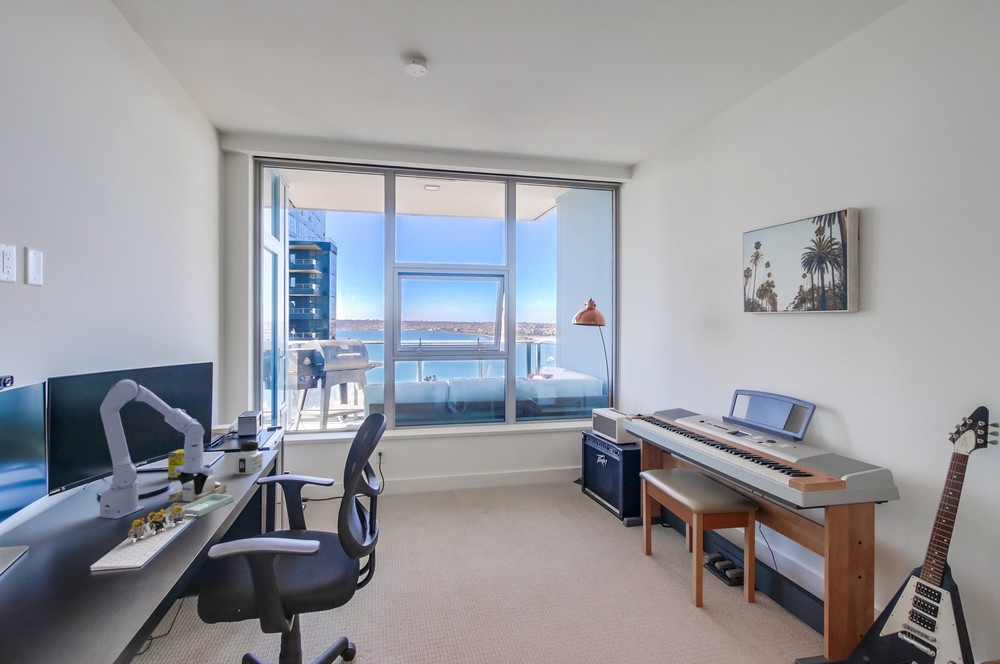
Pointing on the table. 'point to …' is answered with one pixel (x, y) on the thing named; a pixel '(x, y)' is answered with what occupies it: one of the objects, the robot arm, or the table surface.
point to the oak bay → (218, 490)
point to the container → (249, 458)
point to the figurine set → (156, 521)
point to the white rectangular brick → (190, 488)
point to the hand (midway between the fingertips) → (193, 493)
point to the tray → (212, 501)
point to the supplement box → (175, 462)
